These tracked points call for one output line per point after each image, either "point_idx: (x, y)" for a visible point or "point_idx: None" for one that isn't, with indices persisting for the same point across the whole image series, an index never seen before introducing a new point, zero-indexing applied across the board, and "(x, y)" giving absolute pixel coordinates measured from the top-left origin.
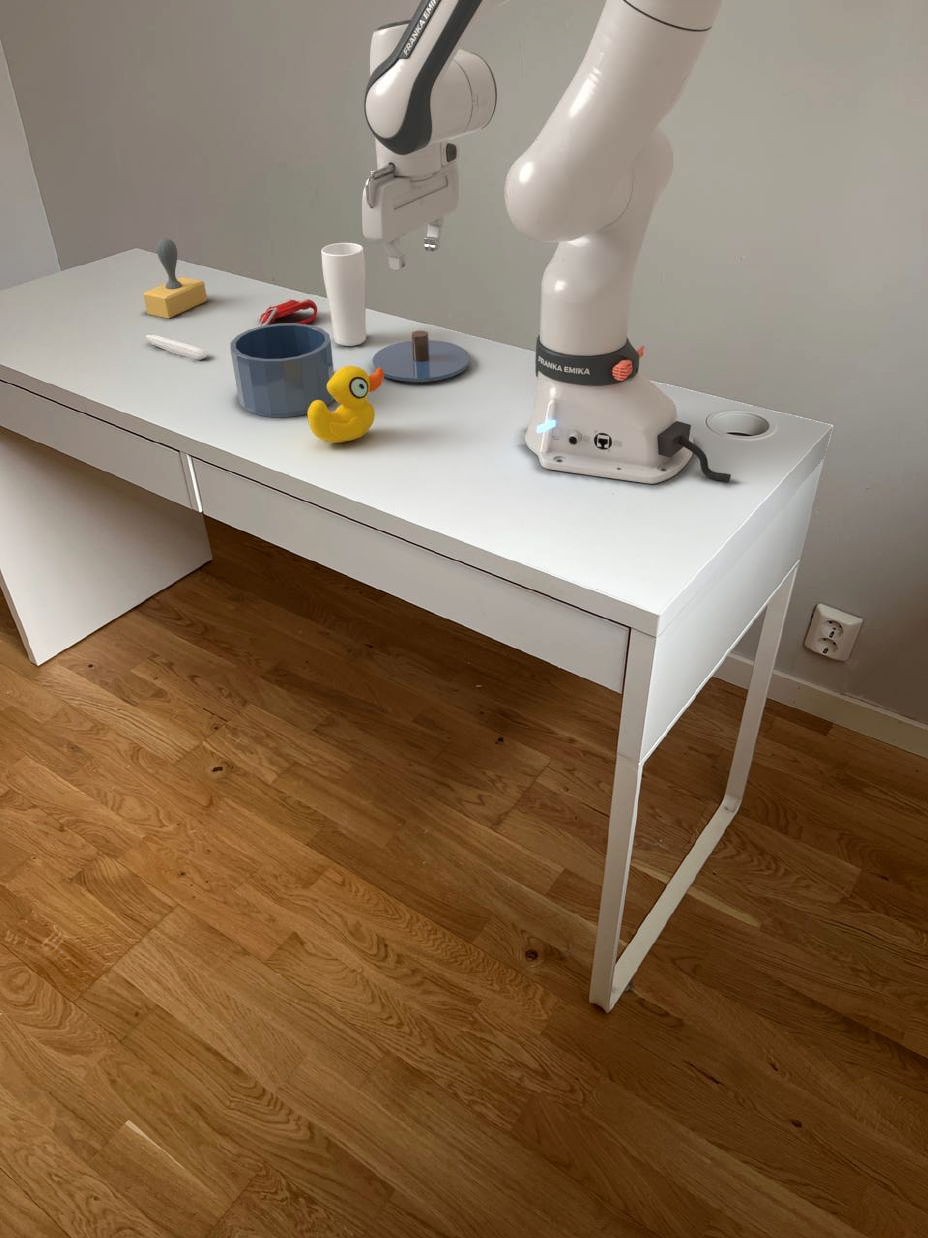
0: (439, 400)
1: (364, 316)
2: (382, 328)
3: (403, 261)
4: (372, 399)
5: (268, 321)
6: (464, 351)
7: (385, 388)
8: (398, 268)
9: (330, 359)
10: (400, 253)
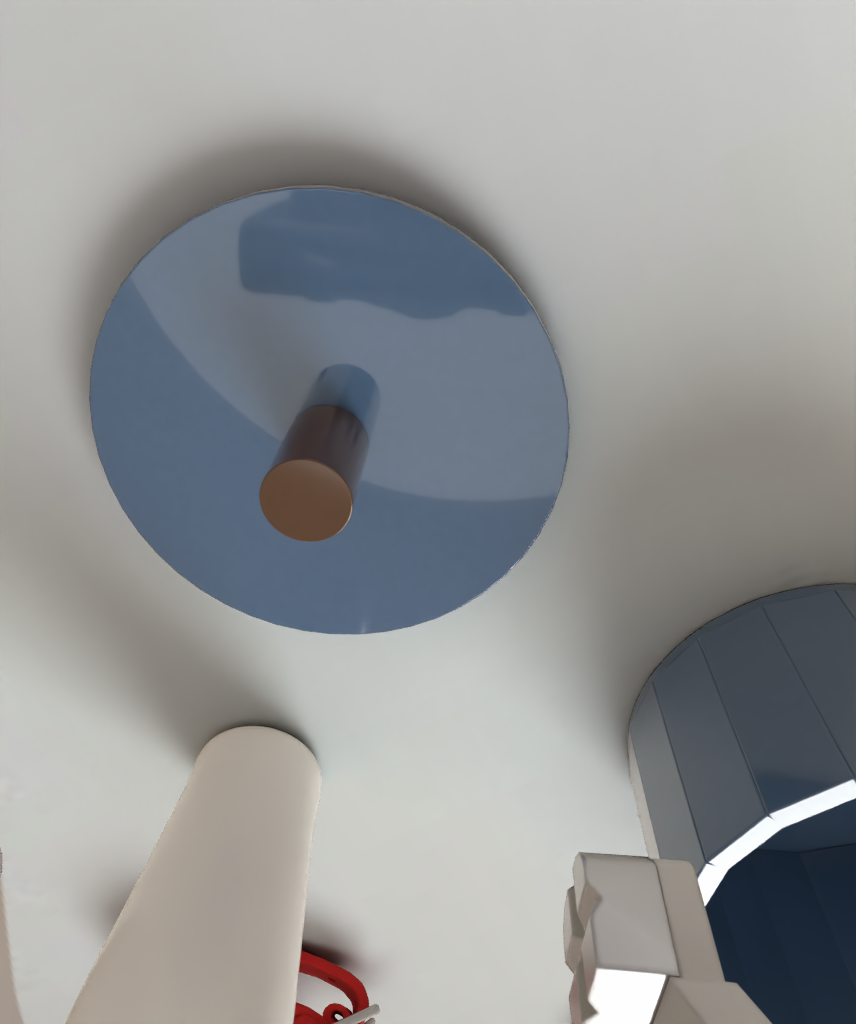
0: (680, 146)
1: (213, 801)
2: (88, 725)
3: (625, 901)
4: (755, 452)
5: (362, 1014)
6: (141, 282)
7: (627, 456)
8: (693, 869)
9: (852, 706)
10: (703, 1014)
